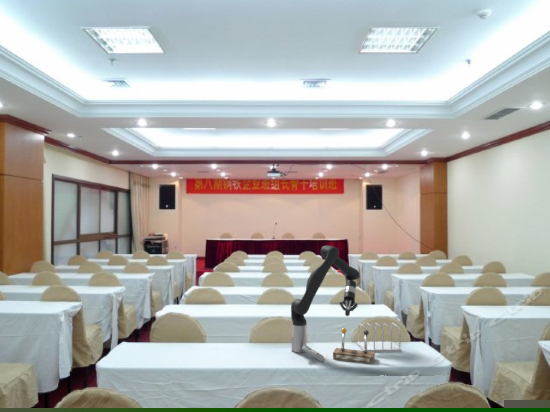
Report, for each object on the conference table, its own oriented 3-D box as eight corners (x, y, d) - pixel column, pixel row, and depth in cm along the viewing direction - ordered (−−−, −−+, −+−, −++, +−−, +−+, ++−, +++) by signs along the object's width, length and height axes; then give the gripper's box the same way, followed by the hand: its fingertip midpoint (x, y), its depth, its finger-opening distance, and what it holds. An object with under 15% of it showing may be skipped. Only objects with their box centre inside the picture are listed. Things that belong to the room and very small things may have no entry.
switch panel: (333, 359, 252) (333, 350, 252) (336, 354, 262) (336, 346, 262) (372, 363, 244) (372, 355, 244) (374, 358, 254) (374, 349, 254)
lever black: (362, 352, 250) (363, 329, 256) (362, 353, 253) (364, 330, 259) (367, 353, 249) (368, 329, 255) (368, 353, 252) (369, 330, 258)
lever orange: (339, 350, 255) (341, 327, 261) (340, 350, 257) (341, 328, 264) (344, 350, 254) (346, 327, 260) (345, 351, 256) (346, 328, 262)
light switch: (324, 359, 247) (303, 346, 249) (319, 368, 247) (298, 355, 249) (324, 355, 255) (304, 342, 257) (320, 363, 255) (299, 350, 257)
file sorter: (364, 352, 265) (364, 328, 266) (357, 344, 283) (356, 322, 283) (401, 352, 267) (401, 328, 268) (392, 344, 285) (392, 321, 285)
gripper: (339, 290, 286) (336, 311, 274) (358, 291, 282) (356, 313, 270) (341, 296, 291) (338, 317, 279) (359, 297, 287) (357, 319, 275)
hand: (347, 315), depth 275 cm, fingers closed
